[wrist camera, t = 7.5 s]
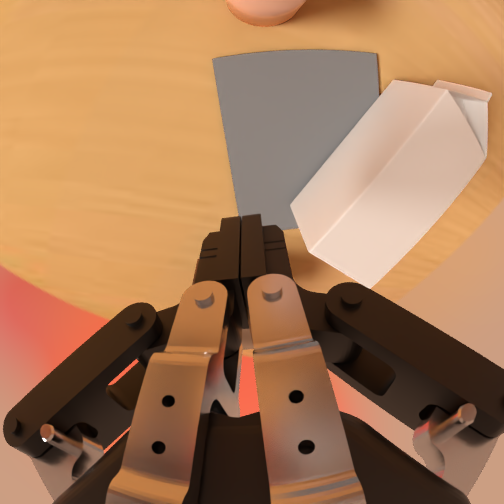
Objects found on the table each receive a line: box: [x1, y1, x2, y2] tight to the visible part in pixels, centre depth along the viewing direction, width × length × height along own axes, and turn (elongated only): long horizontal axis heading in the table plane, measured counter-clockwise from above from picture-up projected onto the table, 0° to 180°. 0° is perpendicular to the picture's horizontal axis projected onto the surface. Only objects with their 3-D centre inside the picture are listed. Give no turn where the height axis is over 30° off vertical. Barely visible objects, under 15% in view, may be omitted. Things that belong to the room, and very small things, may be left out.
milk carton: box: [290, 80, 492, 289], centre depth 18 cm, size 7×7×19 cm
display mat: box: [212, 50, 379, 230], centre depth 21 cm, size 16×13×1 cm
